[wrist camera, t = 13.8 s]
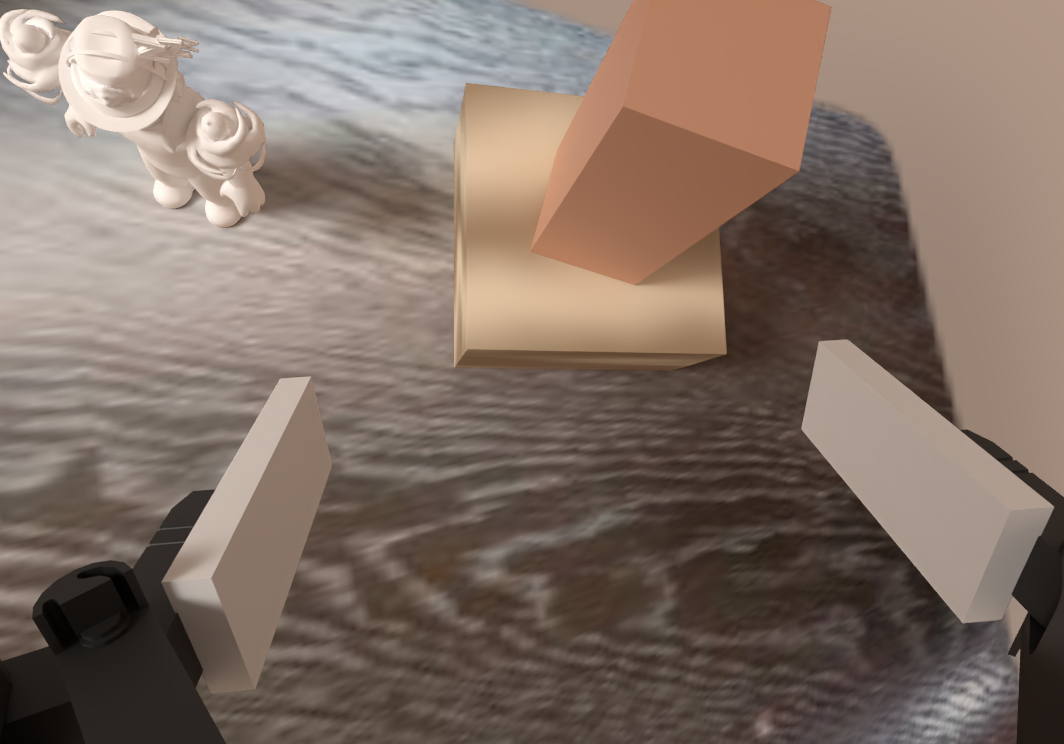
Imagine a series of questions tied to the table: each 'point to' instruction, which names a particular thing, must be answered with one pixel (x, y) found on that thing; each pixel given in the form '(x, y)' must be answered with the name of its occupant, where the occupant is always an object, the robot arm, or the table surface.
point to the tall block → (681, 130)
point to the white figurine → (142, 104)
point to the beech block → (550, 285)
